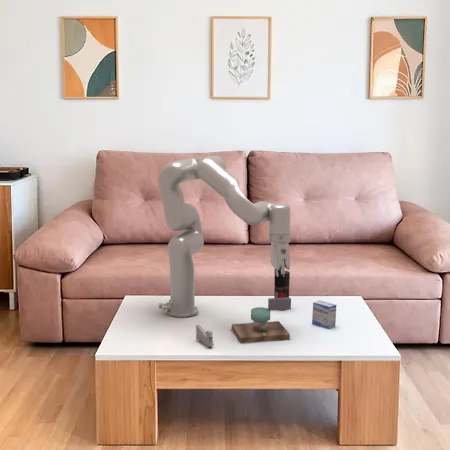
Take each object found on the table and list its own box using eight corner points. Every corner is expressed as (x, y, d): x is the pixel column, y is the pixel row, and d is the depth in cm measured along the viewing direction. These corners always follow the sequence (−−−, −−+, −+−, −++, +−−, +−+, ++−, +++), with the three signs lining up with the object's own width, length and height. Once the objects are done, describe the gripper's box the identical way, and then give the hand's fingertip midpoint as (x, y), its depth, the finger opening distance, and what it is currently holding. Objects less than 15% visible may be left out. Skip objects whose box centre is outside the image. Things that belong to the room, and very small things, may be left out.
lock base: (240, 343, 241) (240, 326, 239) (231, 329, 254) (231, 313, 253) (289, 339, 244) (290, 323, 243) (278, 326, 258) (279, 310, 256)
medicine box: (311, 324, 260) (312, 302, 258) (318, 321, 263) (319, 299, 262) (329, 329, 255) (329, 307, 253) (335, 326, 258) (336, 304, 256)
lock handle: (253, 322, 244) (253, 303, 242) (248, 315, 250) (249, 297, 249) (292, 319, 247) (293, 300, 245) (287, 313, 253) (287, 295, 252)
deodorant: (291, 307, 279) (292, 271, 276) (284, 311, 274) (285, 275, 271) (278, 305, 282) (279, 269, 279) (271, 308, 277) (272, 272, 274)
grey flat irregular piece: (199, 339, 244) (214, 348, 236) (196, 340, 243) (210, 349, 235) (199, 324, 243) (214, 332, 235) (196, 324, 242) (210, 333, 234)
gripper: (295, 241, 243) (295, 291, 247) (283, 233, 257) (283, 280, 261) (275, 242, 242) (275, 293, 245) (264, 234, 256) (264, 281, 259)
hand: (279, 286), depth 253 cm, fingers closed
